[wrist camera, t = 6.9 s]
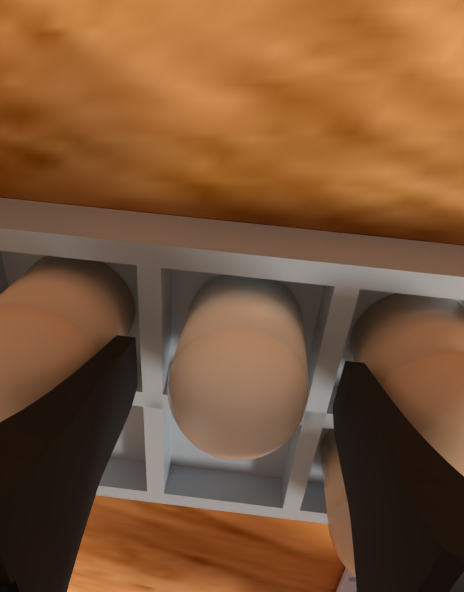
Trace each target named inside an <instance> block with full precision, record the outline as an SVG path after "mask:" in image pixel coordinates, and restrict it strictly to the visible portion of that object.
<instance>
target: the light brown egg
mask: <svg viewBox="0 0 464 592" xmlns="http://www.w3.org/2000/svg"><path fill="white" fill-rule="evenodd" d="M167 393H168V401H169V406H170V410H171V412H172V415H173V418H174V420H175V422H176V424H177V425H178V427H179V429H180V430H181V432H182V433H183V434H184V436H185V437H186V438H187V439H188V440H189V441H190V442H191V443H192V444H193V445H195V446H196V447H197V448H199V449H200V450H202V451H204V452H206V453H207V454H210V455H212V456H214V457H217V458H220V459H225V460H231V461H246V460H252V459H256V458H260V457H263V456H265V455H268V454H269V453H271V452H273V451H275V450H276V449H278V448H279V447H281V446H282V445H283V444H284V443H285V442H286V441H287V440H288V439H289V438H290V437H291V436H292V435H293V434H294V433H295V431H296V430H297V428H298V427H299V425H300V423H301V421H302V419H303V416H304V414H305V411H306V408H307V403H308V397H309V378H308V368H307V358H306V348H305V337H304V327H303V317H302V311H301V308H300V305H299V303H298V301H297V299H296V297H295V296H294V295H293V293H292V292H291V291H290V290H289V289H288V288H287V287H286V286H285V285H284V284H282V283H281V282H279V281H278V280H270V279H261V278H251V277H242V276H233V275H223V274H222V275H220V276H217V277H215V278H213V279H212V280H210V281H208V282H207V283H206V284H205V285H203V286H202V287H201V288H200V289H199V290H198V292H197V293H196V295H195V296H194V298H193V300H192V302H191V305H190V308H189V311H188V315H187V318H186V321H185V324H184V327H183V330H182V333H181V336H180V339H179V342H178V345H177V348H176V351H175V354H174V357H173V360H172V363H171V367H170V370H169V375H168V383H167Z"/></svg>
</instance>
